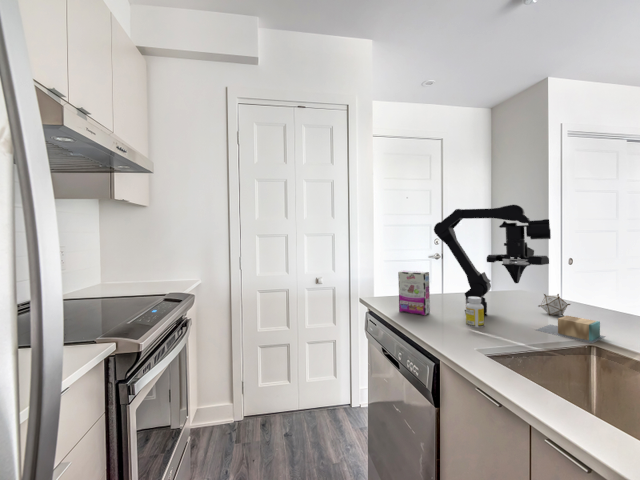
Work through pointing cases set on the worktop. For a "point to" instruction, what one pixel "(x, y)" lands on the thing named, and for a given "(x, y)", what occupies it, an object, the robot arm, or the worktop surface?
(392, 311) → the worktop surface
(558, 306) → the game die
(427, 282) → the candy bar box
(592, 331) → the oak block
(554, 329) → the mat
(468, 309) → the supplement bottle
